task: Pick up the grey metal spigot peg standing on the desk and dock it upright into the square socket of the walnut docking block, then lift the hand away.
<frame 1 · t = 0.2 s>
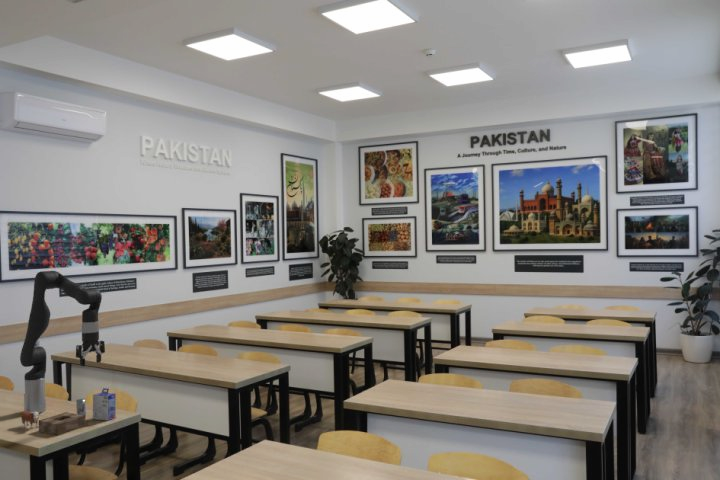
hand: (90, 364, 276), 28 cm above the table, tool pointing down, fingers open, 8 cm apart
bull figurine: (31, 427, 271), on the table
ink cartridge box: (104, 418, 282), on the table
spigot peg: (81, 417, 284), on the table
docking block: (62, 428, 268), on the table
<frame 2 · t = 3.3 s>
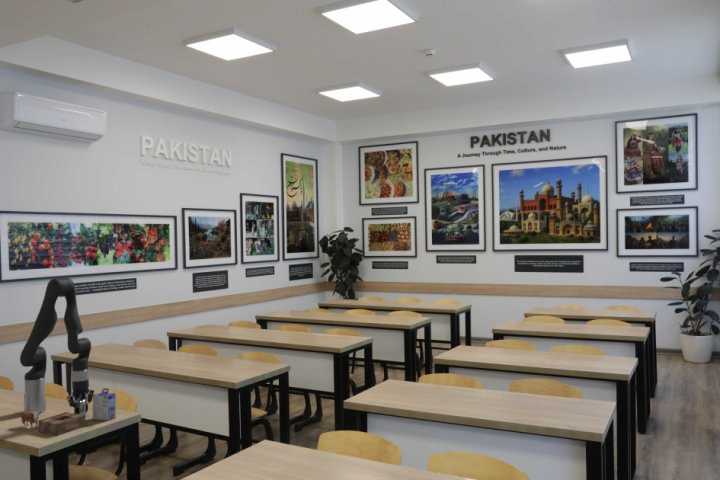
hand: (81, 413, 284), 2 cm above the table, tool pointing down, fingers closed on spigot peg, 4 cm apart
spigot peg: (81, 417, 284), on the table, touching gripper
everything else where it was.
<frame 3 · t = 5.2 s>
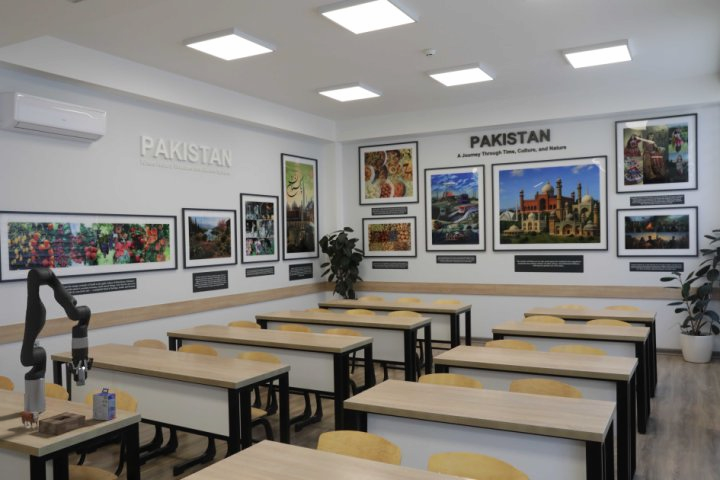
hand: (80, 380, 284), 19 cm above the table, tool pointing down, fingers closed on spigot peg, 4 cm apart
spigot peg: (80, 385, 284), point 16 cm above the table, touching gripper
everything else where it was.
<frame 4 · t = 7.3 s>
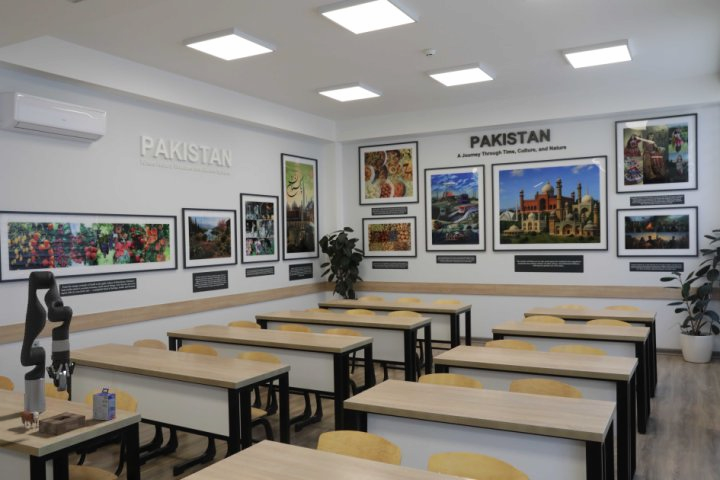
hand: (61, 385, 268), 20 cm above the table, tool pointing down, fingers closed on spigot peg, 4 cm apart
spigot peg: (61, 390, 268), point 18 cm above the table, touching gripper
everything else where it was.
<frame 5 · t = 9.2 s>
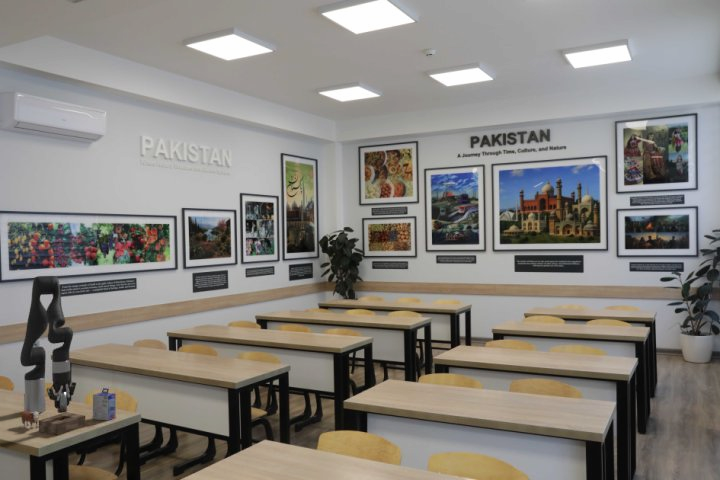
hand: (62, 406, 268), 10 cm above the table, tool pointing down, fingers closed on spigot peg, 4 cm apart
spigot peg: (62, 411, 268), point 8 cm above the table, touching gripper
everything else where it was.
when the fingers open (6 cm above the table, at t = 11.1 s): spigot peg drops 3 cm, resting on docking block.
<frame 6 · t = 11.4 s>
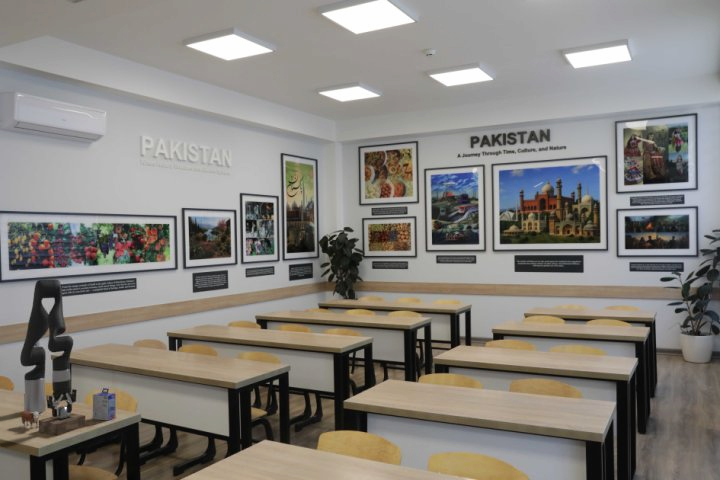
hand: (62, 414, 268), 7 cm above the table, tool pointing down, fingers open, 6 cm apart
spigot peg: (62, 426, 268), point 1 cm above the table, touching docking block
everything else where it was.
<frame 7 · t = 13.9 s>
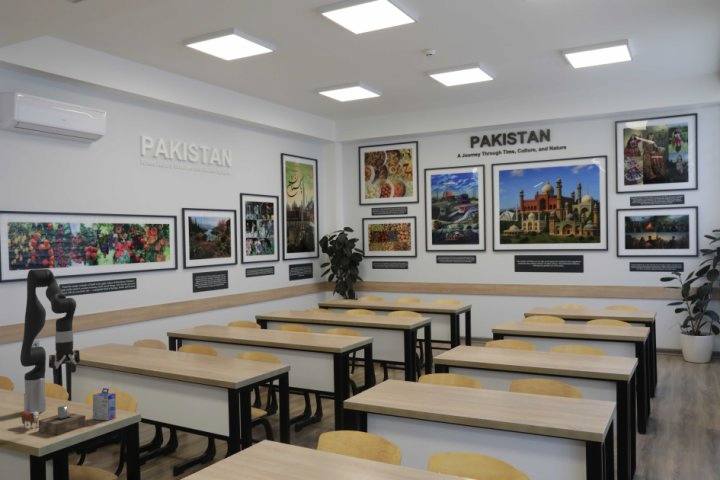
hand: (64, 374, 271), 25 cm above the table, tool pointing down, fingers open, 8 cm apart
nothing on the table moved.
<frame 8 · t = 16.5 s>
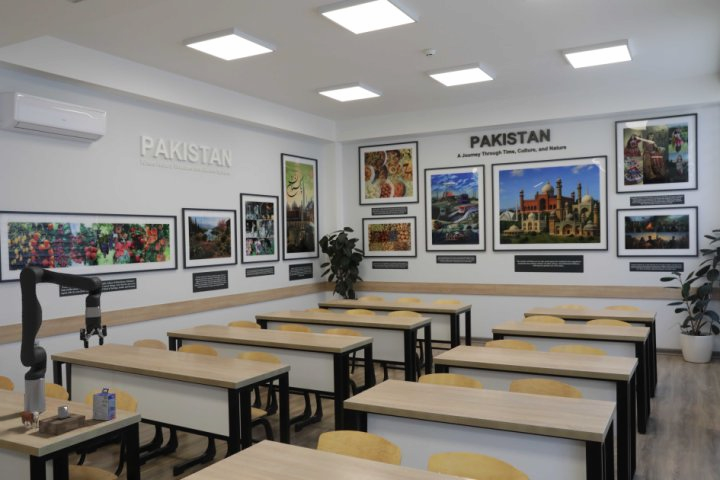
hand: (93, 346, 296), 33 cm above the table, tool pointing down, fingers open, 8 cm apart
nothing on the table moved.
at the end: spigot peg 0.2 cm off-centre on the docking block, point 1.0 cm above the docking block's base; spigot peg tilted 1°; the gripper is holding nothing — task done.
